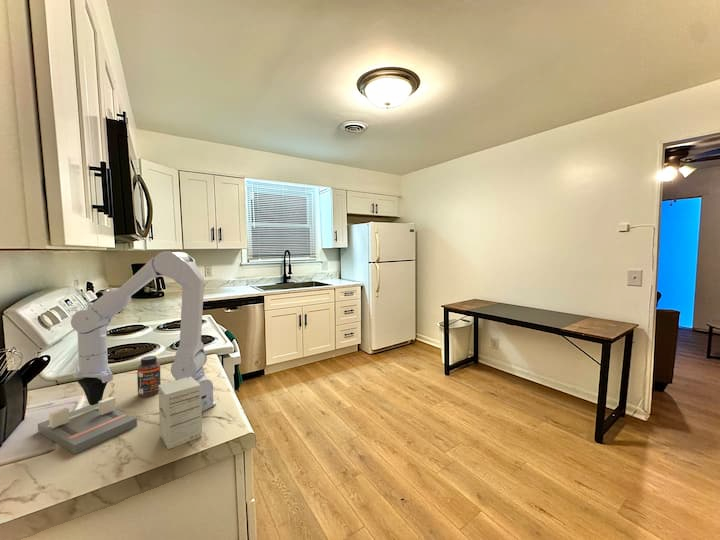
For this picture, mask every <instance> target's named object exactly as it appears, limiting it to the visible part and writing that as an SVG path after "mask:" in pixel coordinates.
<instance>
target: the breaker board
mask: <svg viewBox="0 0 720 540" xmlns="http://www.w3.org/2000/svg"><path fill="white" fill-rule="evenodd" d="M69 420H70V422H68V423H65V424H62V425H60V426H57V427H54V428H52V427H50V421H49V419H48V420H45V421H42V422H39V423H37V432H38V431H39V432H40V433H39V432H38V433H39V434H41V433H42V434H43V436H44V435H45V436H44V437H46V438H47V439H49V440H51V441H52V440H53V442H54V441H55V442H54V443H56V444H57V443H58V444H57V445H59V446H61V447H62V448H64V449H66V450H68V451H70V452H71V453H72V454H74V455H76V454H79V453H81V452H83V451H86V450H87V449H90V448H91V447H94V446H97V445H99V444H100V443H103V442H104V441H107V440H110V439H111V438H113V437H115V436H117V435H118V436H119V435H120V434H122V433H124V432H126V431H129V430H131V429H134V428H135V427H138V418H137V417H135V416H133V415H131V414H128V413H126V412H123V411H121V410H119V409H116V410H114V411H111V412H109V413H106V414H104V415H100V414H99V409H98V404H95V405H90V404H89V405H87V406H84V407H81V408H78V409H75V410H73V411H69ZM42 434H41V435H42Z"/></svg>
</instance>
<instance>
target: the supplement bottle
mask: <svg viewBox="0 0 720 540" xmlns="http://www.w3.org/2000/svg"><path fill="white" fill-rule="evenodd" d="M157 360H158V359H157V356H156V355H147V356H143V357H141V359H140V365H139V366H137V369H136V371H137V395H138V396H139V397H141V398H143V397H144V398H145V397H146V398H147V397H151V396H154V395H157V394H159V387H158V385H160V384H162V383H161V381H162V378H161V375H162V373H161V371H162V370H161V364H160V362H158V361H157Z"/></svg>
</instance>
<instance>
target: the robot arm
mask: <svg viewBox="0 0 720 540" xmlns="http://www.w3.org/2000/svg"><path fill="white" fill-rule="evenodd" d="M163 276H164V277H166V278H168V279H169V278H170V279H172V280H173V281H174V282H176V283H177V284H178V285H179V286H180V287H181V289H182V291H181V311H180V312H181V313H180V328H179V329H180V330H179V332H180V333H179V345H178V347H177V350H176V351H175V356H174V357H175V358H174V361H173V363H172V364H171V366H170V374H171V375H172V377H173V378H174V381H175V380H179V379H182V378H186V377H192V378H193V379H195V380H196V381H197V382H198V383H199V384H200V385H201V407H202V412H204V411H206V410H208V409H210V408H212V407H214V406H216V405H217V402H215V401H214V385H213V382H212V381H211V380H210V379H209V378H207V377H206V374H205V373H206V372H205V368H204V366H205V365H206V363H207V360H208V359H207V358H208V356H207V354H206V352H205V344H204V343H203V342H202V332H203V331H202V327H203V314H204V313H203V311H204V310H203V307H204V290H205V279H204V277H203V275H202V273H201V271H200V269H199V268H198V266H197V265H196V259H194V258H193V257H192V256H190V255H189V254H188V253H186V252H184V251H176V252H175V251H169V250H168V251H167V250H166V251H162V252H159V253H157V255H155V257H152V258H151V259H149V260H147V262H146V264H144V265H143V266H142V267H141V268H140V269H139V270H137V272H135V274H134V275H132V276H131V277H130V278H129V279H128V280H127V281H126V282H125V283H123V284H122V285H121V286H119V287H112V288H109V289H105V290H103V291H102V293H101V294H102V295H101V296H100V297H98V299H96V300H95V301H94V302H90V303H88V304H87V308H86V309H80V310H78V311H76V312H75V313H74V314H73V315H72V317H71V320H70V325H71V328H72V329H73V330H74V331H75V332H76V333H77V349H78V350H77V353H78V356H77V357H78V365H77V366H76V367H75V368H76V369H75V371H76V373H73V374H72V375H73V378H75V379H77V378H80V379H78V380H77V383H78V385H80V387H81V389H82V390H83V392H84V393H85V397H86V399H87V403H88V404H89V405H95V404H98V401H101V400H103V396H104V392H105V389H106V386H107V384H108V383H109V382H112V381H113V380H114V375H113V372H111V369H110V367H109V362H108V360H109V359H108V338H107V335H108V333H107V331H108V326H109V325H110V324H111V322H112V318H113V317H115V316H116V315H117V314H119V313H120V312H121V311H122V310H123V309H125V308H126V307H127V306H129V304H131V302H132V296H133V295H134V294H136V293H137V292H139V291H140V290H141V289H142V288H143V287H145V286H146V285H147V284H149V283H151V282H152V281H153V280H154V279H156V278H159V277H163Z"/></svg>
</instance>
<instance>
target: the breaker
mask: <svg viewBox="0 0 720 540" xmlns="http://www.w3.org/2000/svg"><path fill="white" fill-rule="evenodd" d="M69 412H70V408H68V407H63V408H61V409H58V410H54V411H51V412H49V413H48V417H49V418H48V420H49V421H50V427H52V428H54V427H57V426H60V425H62V424H65V423H68V422H70V420H69Z"/></svg>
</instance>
